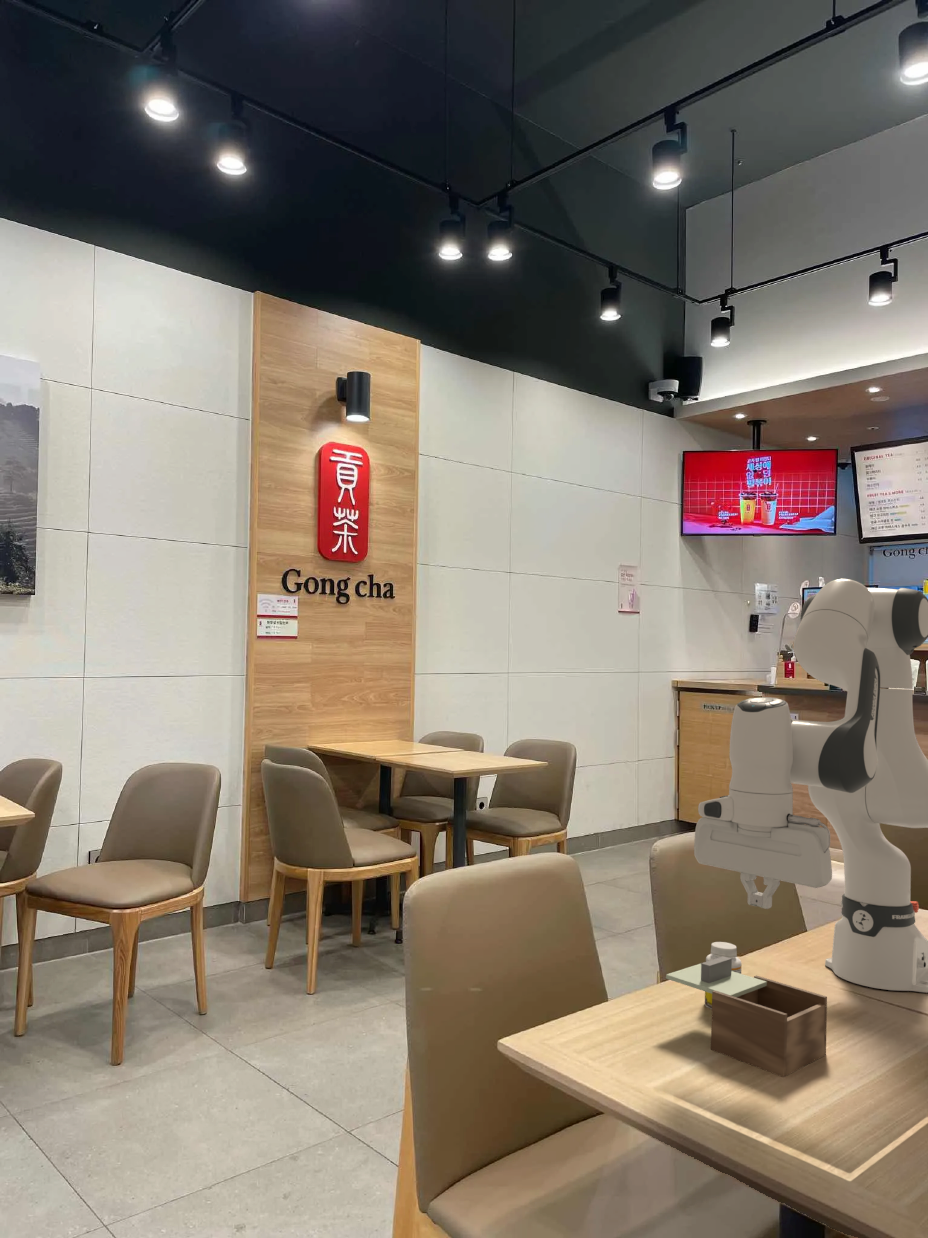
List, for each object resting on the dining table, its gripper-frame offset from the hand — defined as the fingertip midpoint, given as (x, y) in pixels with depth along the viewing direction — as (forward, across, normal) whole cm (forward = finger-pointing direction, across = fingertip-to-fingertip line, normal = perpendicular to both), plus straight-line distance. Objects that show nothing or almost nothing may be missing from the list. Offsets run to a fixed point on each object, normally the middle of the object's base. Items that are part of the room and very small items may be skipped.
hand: (759, 906), depth 131 cm
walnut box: (+20, -2, +1) cm, 20 cm away
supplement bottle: (+21, +12, -10) cm, 26 cm away
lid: (+12, +7, +1) cm, 14 cm away
